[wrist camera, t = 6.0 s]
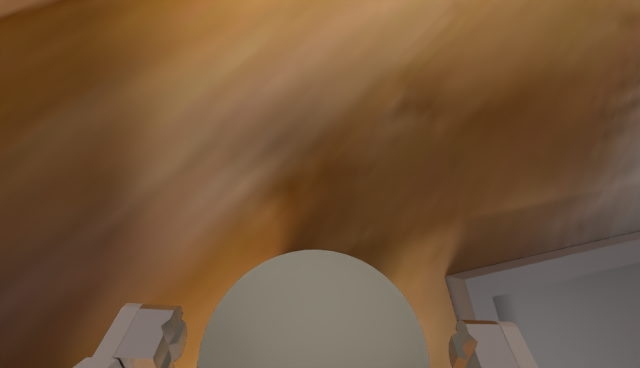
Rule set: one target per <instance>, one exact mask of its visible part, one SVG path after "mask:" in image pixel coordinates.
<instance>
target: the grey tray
mask: <svg viewBox="0 0 640 368" xmlns="http://www.w3.org/2000/svg"><path fill="white" fill-rule="evenodd" d="M445 279H446V282H447V286H448V289H449V293H450V297H451V300H452V304H453V307H454V311H455V315H456V318H457V322H458V321H460V320H487V321H498V322H513V323H515V324H516V325H517V327H518V329H519V330H520V332H521V334H522V336H523V338H524V340H525V342H526V344H527V346H528V348H529V350H530V352H531V354H532V356H533V358H534V360H535V362H536V364H537V366H538V368H640V231H638V232H634V233H629V234H625V235H621V236H616V237H612V238H608V239H603V240H599V241H595V242H590V243H586V244H582V245H577V246H573V247H569V248H564V249H560V250H556V251H551V252H547V253H543V254H538V255H534V256H530V257H525V258H521V259H517V260H512V261H508V262H504V263H499V264H495V265H491V266H486V267H482V268H478V269H473V270H469V271H465V272H461V273H456V274H452V275H448V276H445Z"/></svg>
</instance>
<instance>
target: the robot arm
mask: <svg viewBox="0 0 640 368" xmlns="http://www.w3.org/2000/svg"><path fill="white" fill-rule="evenodd" d="M182 314H183V312H182V309H181V306H170V305H154V304H141V303H126V304H125V305H124V306H123V307H122V308H121V309H120V311H119V312H118V314H117V316H116V317H115V319H114V321H113V323H112V324H111V326H110V328H109V329H108V331H107V333H106V334H105V336H104V338H103V339H102V341H101V343H100V344H99V346H98V348H97V349H96V351H95V353H94V355H93V356H92V357H86V358H85V359H83V360H82V361H81V362H79V363H78V364H77V365H75V366H74V367H73V368H175V366H174V362H175V361H176V360H177V359H178V358H180V357H181V356H182V353H183V351H184V348H185V344H186V339H187V326H186V323H185V322H184V321H183V320H181V317H182ZM456 330H457V333H456V334H454V335H452V337H451V339H450V342H449V357H450V362H451V365H452V368H538V366H537V364H536V362H535V360H534V358H533V356H532V354H531V352H530V350H529V348H528V346H527V344H526V342H525V340H524V338H523V336H522V334H521V332H520V330H519V329H518V327H517V325H516V324H515V323H513V322H498V321H487V320H460V321H458V323H457V325H456Z"/></svg>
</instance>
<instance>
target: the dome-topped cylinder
mask: <svg viewBox="0 0 640 368" xmlns="http://www.w3.org/2000/svg"><path fill="white" fill-rule="evenodd" d="M197 368H430V365H429V355H428V350H427V345H426V340H425V337H424V334H423V331H422V328H421V325H420V323H419V321H418V319H417V317H416V314H415V312H414V310H413V309H412V307H411V306H410V304H409V302H408V301H407V299H406V298H405V297H404V295H403V294H402V293H401V292H400V290H399V289H398V288H397V287H396V286H395V285H394V284H393V283H392V282H391V281H390V280H389V279H388V278H387V277H386V276H385V275H383V274H382V273H381V272H379V271H378V270H377V269H375V268H374V267H372V266H371V265H369V264H367V263H365V262H363V261H362V260H359V259H357V258H354V257H352V256H349V255H346V254H342V253H338V252H334V251H327V250H301V251H295V252H290V253H286V254H283V255H279V256H276V257H274V258H272V259H269V260H267V261H265V262H263V263H261V264H260V265H258V266H256V267H255V268H253V269H251V270H250V271H249V272H247V273H246V274H245V275H244V276H242V277H241V278H240V279H239V280H238V281H237V282H236V283H235V284H234V285H233V286H232V287H231V288H230V289H229V290H228V291H227V293H226V294H225V295H224V297H223V298H222V299H221V301H220V302H219V303H218V305H217V307H216V309H215V310H214V312H213V314H212V315H211V317H210V320H209V322H208V324H207V327H206V329H205V332H204V335H203V339H202V342H201V345H200V350H199V356H198V362H197Z"/></svg>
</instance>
